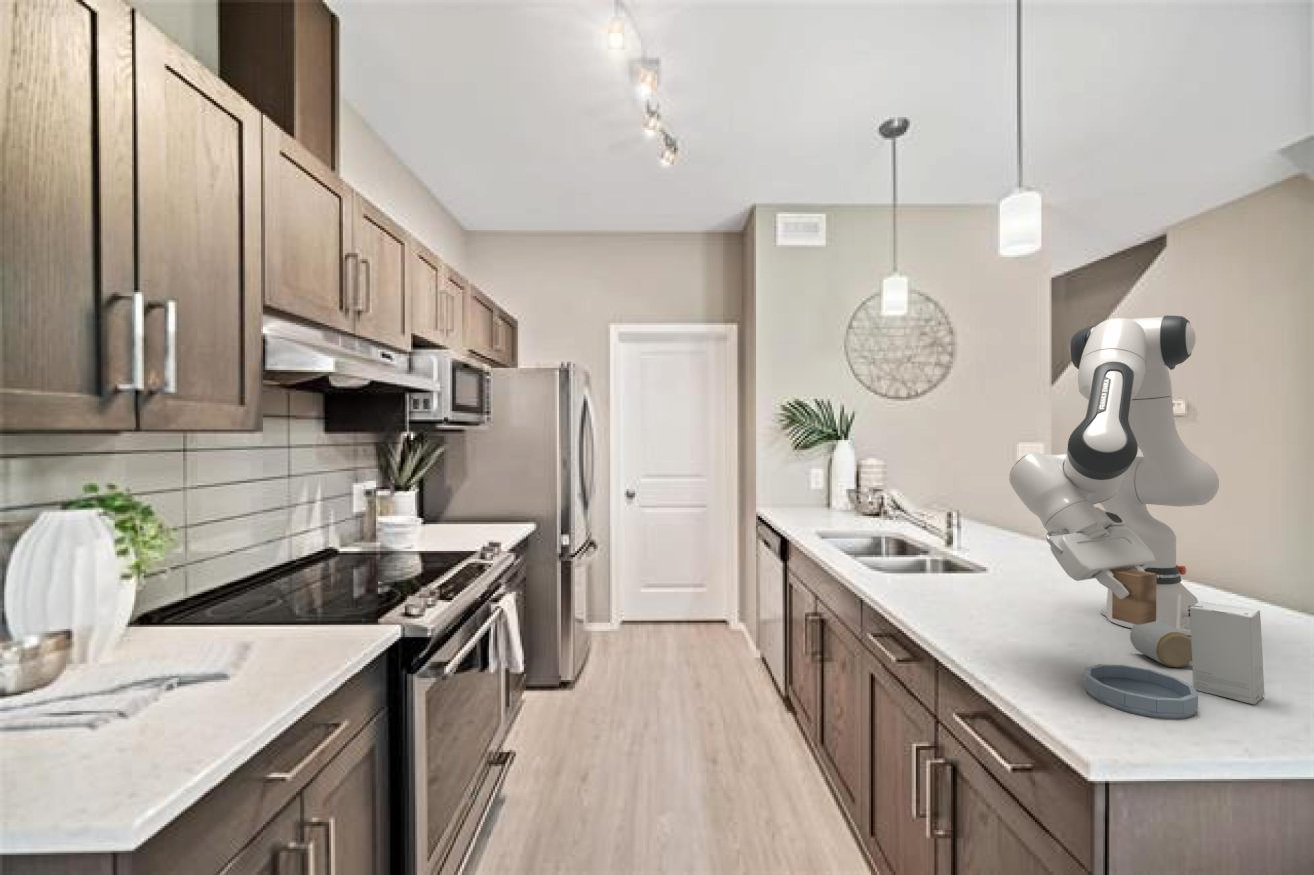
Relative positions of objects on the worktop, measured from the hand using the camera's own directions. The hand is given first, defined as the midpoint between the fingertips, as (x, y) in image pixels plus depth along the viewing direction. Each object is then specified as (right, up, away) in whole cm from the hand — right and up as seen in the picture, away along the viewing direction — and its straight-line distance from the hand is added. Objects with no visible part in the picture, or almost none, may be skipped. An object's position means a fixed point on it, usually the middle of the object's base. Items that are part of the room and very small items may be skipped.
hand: (1138, 594), depth 104 cm
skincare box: (+17, -18, +2) cm, 25 cm away
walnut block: (0, -4, +1) cm, 4 cm away
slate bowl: (0, -18, 0) cm, 18 cm away
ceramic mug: (+19, -18, +17) cm, 31 cm away
